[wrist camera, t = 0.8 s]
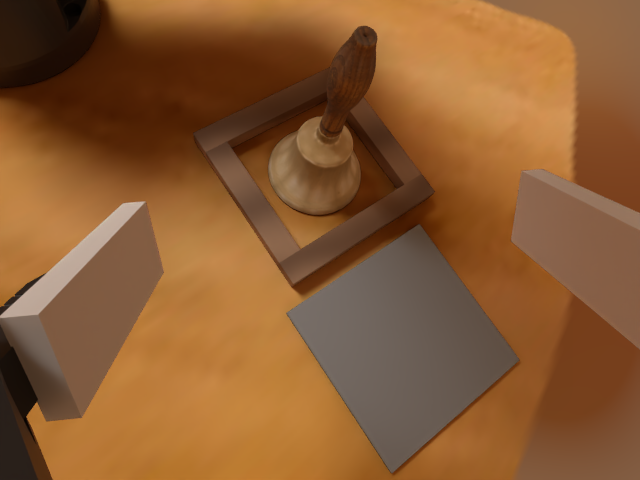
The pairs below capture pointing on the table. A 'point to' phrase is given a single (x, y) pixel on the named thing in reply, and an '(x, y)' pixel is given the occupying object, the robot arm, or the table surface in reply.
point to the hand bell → (327, 137)
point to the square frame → (259, 212)
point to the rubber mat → (403, 344)
